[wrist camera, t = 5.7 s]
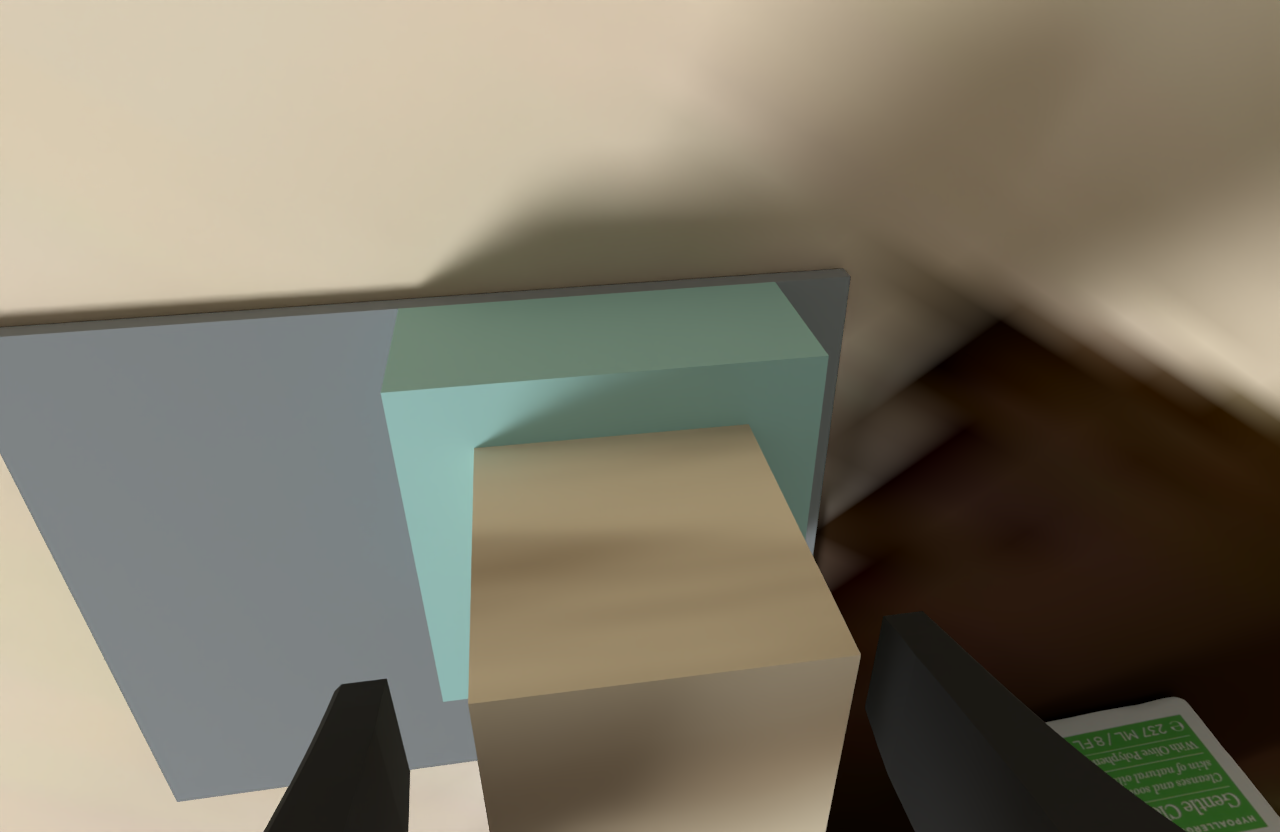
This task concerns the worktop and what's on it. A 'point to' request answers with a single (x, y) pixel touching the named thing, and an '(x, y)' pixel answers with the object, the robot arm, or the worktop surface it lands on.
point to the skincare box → (1171, 765)
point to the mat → (257, 517)
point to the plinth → (583, 404)
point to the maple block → (650, 640)
